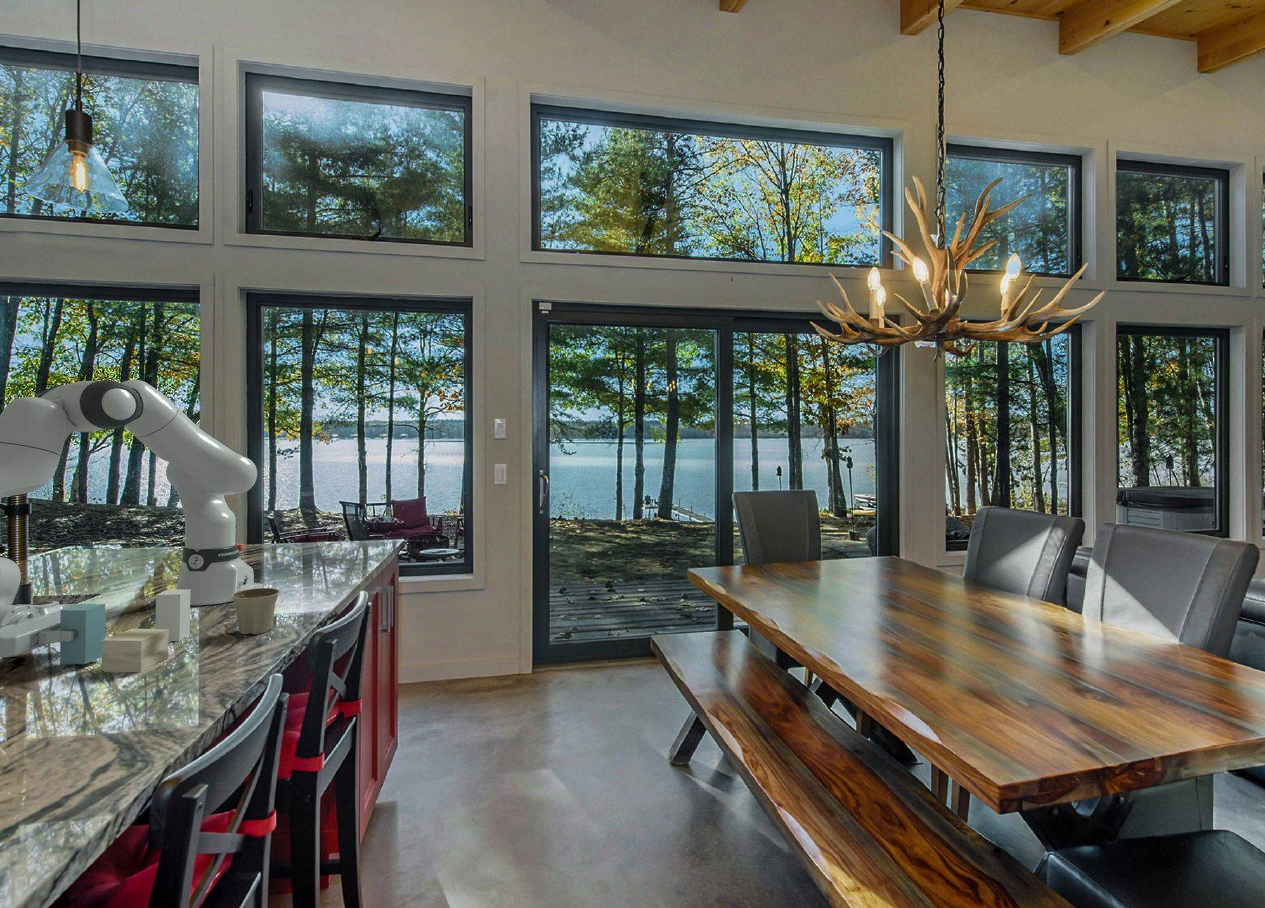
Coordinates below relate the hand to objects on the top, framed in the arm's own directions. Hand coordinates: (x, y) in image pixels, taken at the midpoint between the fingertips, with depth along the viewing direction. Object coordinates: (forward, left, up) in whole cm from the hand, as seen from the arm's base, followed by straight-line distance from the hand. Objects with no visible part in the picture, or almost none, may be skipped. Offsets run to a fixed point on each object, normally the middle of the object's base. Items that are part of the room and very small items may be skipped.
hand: (88, 630), depth 117 cm
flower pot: (-22, +19, -7) cm, 30 cm away
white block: (-16, +5, -6) cm, 18 cm away
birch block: (0, +9, -7) cm, 11 cm away
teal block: (0, -1, -6) cm, 6 cm away
